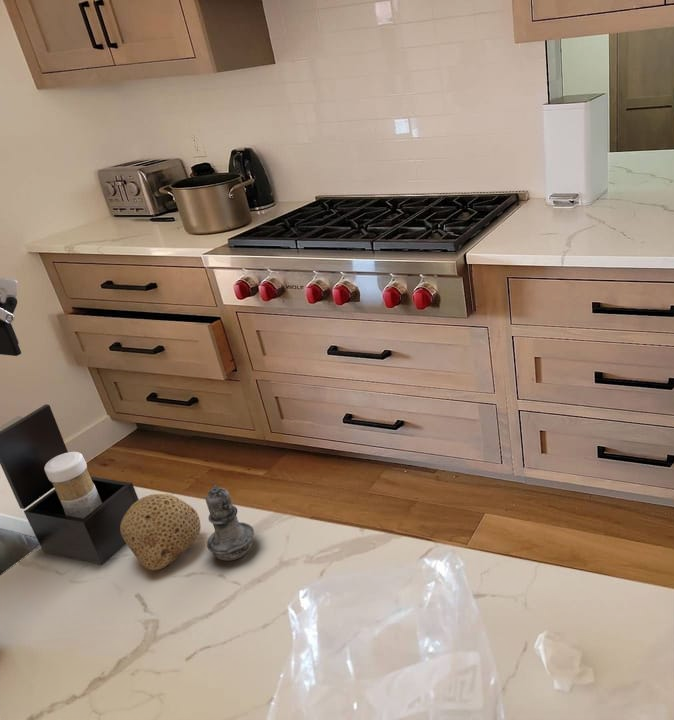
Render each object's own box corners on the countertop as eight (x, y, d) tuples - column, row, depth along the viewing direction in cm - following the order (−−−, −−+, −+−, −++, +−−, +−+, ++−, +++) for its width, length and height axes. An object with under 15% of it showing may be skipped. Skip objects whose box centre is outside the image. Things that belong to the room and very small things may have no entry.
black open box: (150, 529, 97) (132, 482, 93) (105, 571, 90) (83, 522, 86) (94, 519, 100) (75, 473, 96) (46, 558, 93) (23, 511, 89)
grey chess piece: (224, 581, 86) (198, 506, 81) (207, 558, 90) (181, 485, 85) (267, 557, 89) (245, 483, 84) (248, 536, 93) (226, 465, 88)
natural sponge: (200, 527, 96) (180, 469, 92) (216, 562, 89) (195, 501, 85) (132, 555, 92) (107, 496, 88) (143, 594, 85) (117, 532, 81)
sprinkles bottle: (90, 529, 97) (55, 451, 91) (121, 527, 97) (88, 449, 91) (73, 552, 93) (35, 471, 87) (105, 550, 92) (70, 469, 86)
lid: (49, 404, 91) (22, 400, 93) (-8, 439, 84) (-37, 433, 85) (76, 471, 96) (49, 466, 98) (24, 509, 89) (-4, 503, 91)
